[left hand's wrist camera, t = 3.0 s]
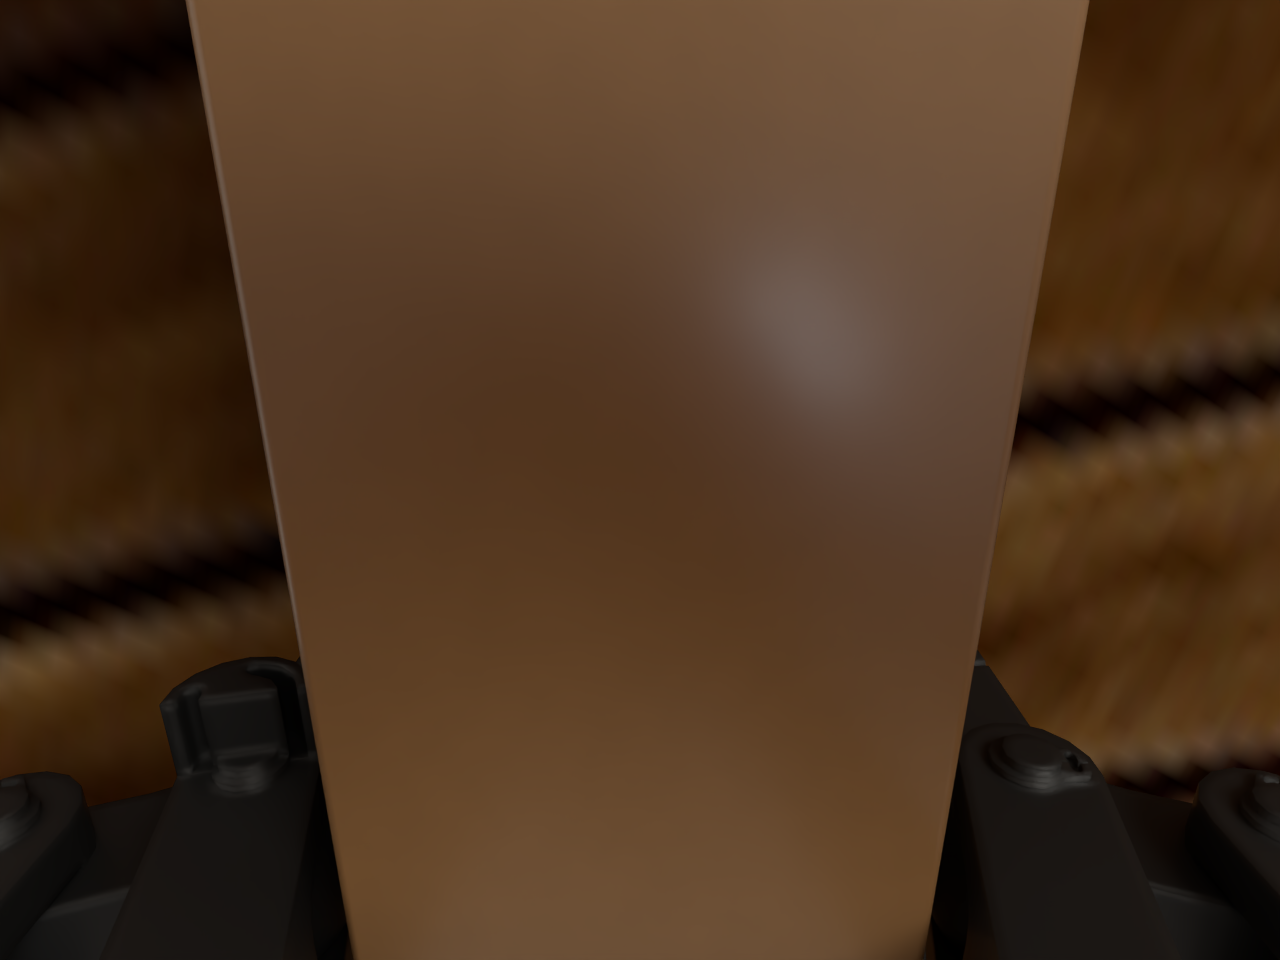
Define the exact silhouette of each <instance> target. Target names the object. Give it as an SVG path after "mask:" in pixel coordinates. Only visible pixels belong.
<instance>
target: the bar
mask: <svg viewBox="0 0 1280 960" xmlns="http://www.w3.org/2000/svg"><path fill="white" fill-rule="evenodd" d="M1088 5H1089V0H186V6H187V11H188V17H189V23H190V28H191V34H192V40H193V46H194V51H195V57H196V63H197V69H198V74H199V80H200V86H201V91H202V97H203V103H204V109H205V114H206V120H207V126H208V131H209V137H210V143H211V149H212V154H213V160H214V166H215V171H216V177H217V183H218V189H219V194H220V200H221V206H222V212H223V217H224V223H225V229H226V234H227V240H228V246H229V252H230V257H231V263H232V269H233V274H234V280H235V286H236V292H237V297H238V303H239V309H240V315H241V320H242V326H243V332H244V337H245V343H246V349H247V355H248V360H249V366H250V372H251V377H252V383H253V389H254V395H255V400H256V406H257V412H258V417H259V423H260V429H261V435H262V440H263V446H264V452H265V458H266V463H267V469H268V475H269V480H270V486H271V492H272V498H273V503H274V509H275V515H276V520H277V526H278V532H279V538H280V543H281V549H282V555H283V561H284V566H285V572H286V578H287V583H288V589H289V595H290V601H291V606H292V612H293V618H294V623H295V629H296V635H297V641H298V646H299V652H300V658H301V664H302V669H303V675H304V681H305V686H306V692H307V698H308V704H309V709H310V715H311V721H312V726H313V732H314V738H315V744H316V749H317V755H318V761H319V766H320V772H321V778H322V784H323V789H324V795H325V801H326V807H327V812H328V818H329V824H330V829H331V835H332V841H333V847H334V852H335V858H336V864H337V869H338V875H339V881H340V887H341V892H342V898H343V904H344V910H345V915H346V921H347V927H348V932H349V938H350V944H351V950H352V955H353V960H923V958H924V952H925V947H926V941H927V935H928V929H929V923H930V918H931V912H932V906H933V900H934V895H935V889H936V883H937V877H938V872H939V866H940V860H941V854H942V848H943V843H944V837H945V831H946V825H947V820H948V814H949V808H950V802H951V796H952V791H953V785H954V779H955V773H956V768H957V762H958V756H959V750H960V744H961V739H962V733H963V727H964V721H965V716H966V710H967V704H968V698H969V692H970V687H971V681H972V675H973V669H974V664H975V658H976V652H977V646H978V640H979V635H980V629H981V623H982V617H983V612H984V606H985V600H986V594H987V588H988V583H989V577H990V571H991V565H992V560H993V554H994V548H995V542H996V536H997V531H998V525H999V519H1000V513H1001V508H1002V502H1003V496H1004V490H1005V484H1006V479H1007V473H1008V467H1009V461H1010V456H1011V450H1012V444H1013V438H1014V432H1015V427H1016V421H1017V415H1018V409H1019V404H1020V398H1021V392H1022V386H1023V380H1024V375H1025V369H1026V363H1027V357H1028V352H1029V346H1030V340H1031V334H1032V328H1033V323H1034V317H1035V311H1036V305H1037V300H1038V294H1039V288H1040V282H1041V276H1042V271H1043V265H1044V259H1045V253H1046V248H1047V242H1048V236H1049V230H1050V224H1051V219H1052V213H1053V207H1054V201H1055V196H1056V190H1057V184H1058V178H1059V172H1060V167H1061V161H1062V155H1063V149H1064V144H1065V138H1066V132H1067V126H1068V120H1069V115H1070V109H1071V103H1072V97H1073V92H1074V86H1075V80H1076V74H1077V68H1078V63H1079V57H1080V51H1081V45H1082V40H1083V34H1084V28H1085V22H1086V16H1087V11H1088Z"/></svg>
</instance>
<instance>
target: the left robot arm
mask: <svg viewBox="0 0 1280 960" xmlns="http://www.w3.org/2000/svg"><path fill="white" fill-rule="evenodd" d="M159 706H160V710H161V713H162V717H163V721H164V725H165V729H166V733H167V737H168V741H169V745H170V749H171V753H172V757H173V761H174V765H175V769H176V773H177V778H176V781H175V783H174V786H173V787H171V788H168V789H164V790H161V791H157V792H154V793H150V794H146V795H141V796H137V797H132V798H127V799H123V800H118V801H114V802H109V803H104V804H100V805H95V806H91V807H88V806H87V803H86V800H85V797H84V793H83V790H82V787H81V785H79V784H78V783H77V782H76V781H75V780H74V779H73V778H71V777H70V776H69V775H64V774H58V773H53V772H47V771H46V772H37V773H28V774H20V775H15V776H12V777H8V778H3V779H2V780H0V960H353V955H352V950H351V944H350V938H349V932H348V927H347V921H346V915H345V910H344V904H343V898H342V892H341V887H340V881H339V875H338V869H337V864H336V858H335V852H334V847H333V841H332V835H331V829H330V824H329V818H328V812H327V807H326V801H325V795H324V789H323V784H322V778H321V772H320V766H319V761H318V755H317V749H316V744H315V738H314V732H313V726H312V721H311V715H310V709H309V704H308V698H307V692H306V686H305V681H304V675H303V669H302V664H301V658H300V657H299V658H298V660H297V661H296V662H294V661H291V660H287V659H283V658H279V657H249V658H244V659H239V660H235V661H230V662H225V663H221V664H219V665H216V666H214V667H211V668H209V669H206V670H204V671H201V672H199V673H196V674H195V675H193V676H191V677H190V678H188V679H187V680H185V681H184V682H182V683H181V684H179V685H178V686H176V687H175V688H173V689H172V691H171V692H170V693H169V694H168V695H167V697H166V698H165V699H164V700H163V701H162V702H161V704H160V705H159ZM923 960H1280V776H1278V775H1276V774H1272V773H1268V772H1265V771H1259V770H1250V769H1241V768H1229V769H1223V770H1218V771H1212V772H1210V773H1209V774H1208V775H1207V776H1206V777H1205V778H1203V779H1202V780H1201V781H1200V782H1199V784H1198V787H1197V791H1196V794H1195V797H1194V800H1193V804H1192V803H1188V802H1183V801H1178V800H1174V799H1169V798H1164V797H1160V796H1155V795H1151V794H1146V793H1141V792H1137V791H1132V790H1128V789H1124V788H1121V787H1117V786H1114V785H1110V784H1107V783H1106V782H1105V779H1104V777H1103V775H1102V774H1101V772H1100V771H1099V769H1098V768H1097V767H1096V765H1095V764H1094V762H1093V761H1092V760H1091V758H1090V757H1089V756H1087V755H1086V754H1085V753H1084V752H1082V751H1081V750H1080V749H1078V748H1077V747H1076V746H1074V745H1073V744H1072V743H1070V742H1069V741H1067V740H1065V739H1063V738H1060V737H1058V736H1056V735H1054V734H1052V733H1049V732H1047V731H1045V730H1043V729H1039V728H1034V727H1030V726H1029V724H1028V723H1027V721H1026V720H1025V718H1024V717H1023V715H1022V714H1021V712H1020V711H1019V710H1018V708H1017V707H1016V705H1015V704H1014V702H1013V701H1012V699H1011V698H1010V696H1009V695H1008V694H1007V692H1006V691H1005V689H1004V688H1003V686H1002V685H1001V683H1000V682H999V681H998V679H997V678H996V676H995V675H994V673H993V672H992V670H991V669H990V667H989V666H985V660H984V659H983V657H982V656H981V654H980V653H979V651H978V650H977V652H976V658H975V664H974V669H973V675H972V681H971V687H970V692H969V698H968V704H967V710H966V716H965V721H964V727H963V733H962V739H961V744H960V750H959V756H958V762H957V768H956V773H955V779H954V785H953V791H952V796H951V802H950V808H949V814H948V820H947V825H946V831H945V837H944V843H943V848H942V854H941V860H940V866H939V872H938V877H937V883H936V889H935V895H934V900H933V906H932V912H931V918H930V923H929V929H928V935H927V941H926V947H925V952H924V958H923Z"/></svg>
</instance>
